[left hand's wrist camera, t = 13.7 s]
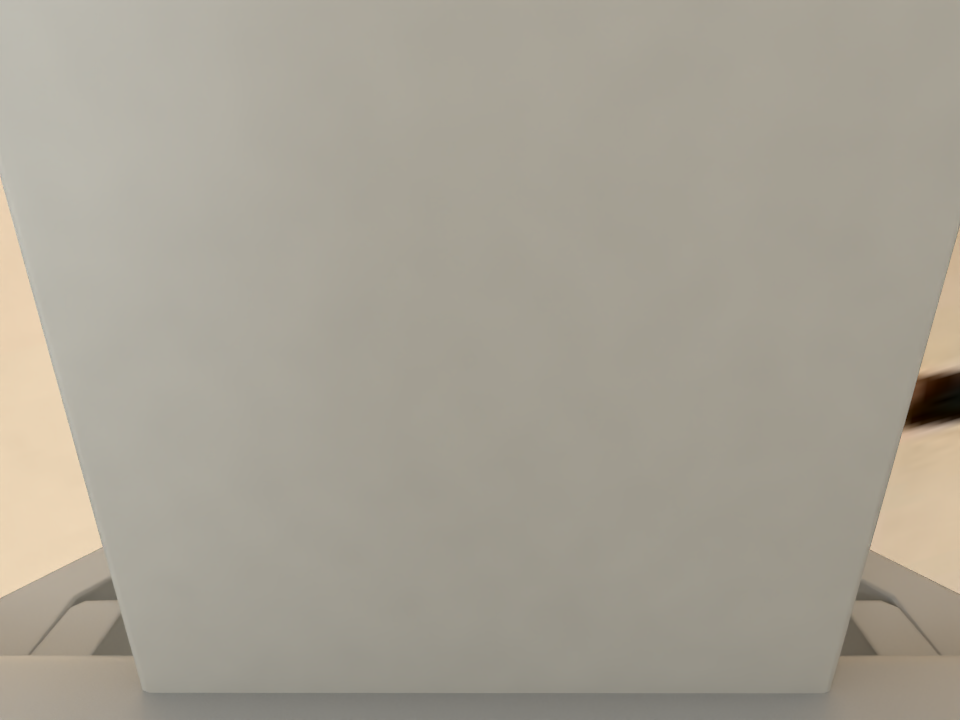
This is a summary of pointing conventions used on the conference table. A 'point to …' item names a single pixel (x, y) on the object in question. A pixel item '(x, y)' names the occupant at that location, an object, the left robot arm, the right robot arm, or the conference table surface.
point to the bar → (484, 325)
